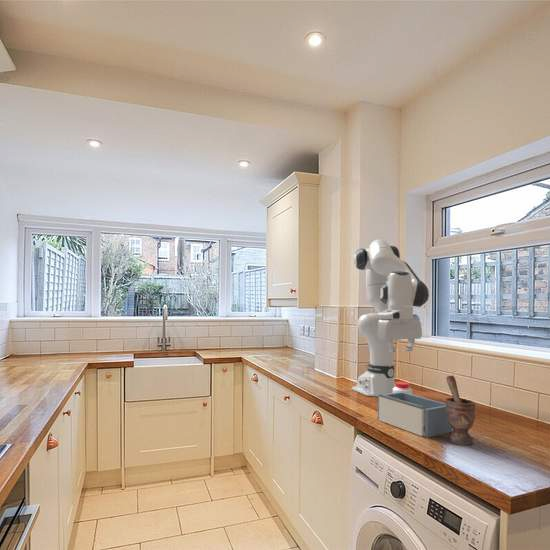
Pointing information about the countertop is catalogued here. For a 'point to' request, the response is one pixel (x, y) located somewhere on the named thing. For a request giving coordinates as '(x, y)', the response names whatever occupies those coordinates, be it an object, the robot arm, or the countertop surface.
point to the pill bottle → (402, 387)
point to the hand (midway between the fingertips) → (400, 351)
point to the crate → (427, 413)
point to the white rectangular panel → (401, 414)
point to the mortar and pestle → (459, 415)
